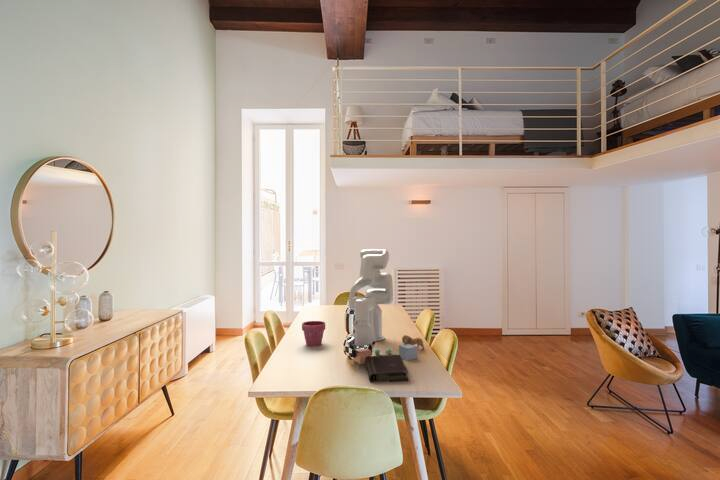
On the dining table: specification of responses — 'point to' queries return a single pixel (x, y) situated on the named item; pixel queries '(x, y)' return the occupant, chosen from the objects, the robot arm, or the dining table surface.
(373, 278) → the robot arm
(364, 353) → the reddish brown cube
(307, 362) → the dining table surface
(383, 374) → the diary
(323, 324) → the plant pot
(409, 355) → the blue cube
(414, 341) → the lion figurine
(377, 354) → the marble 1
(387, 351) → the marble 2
